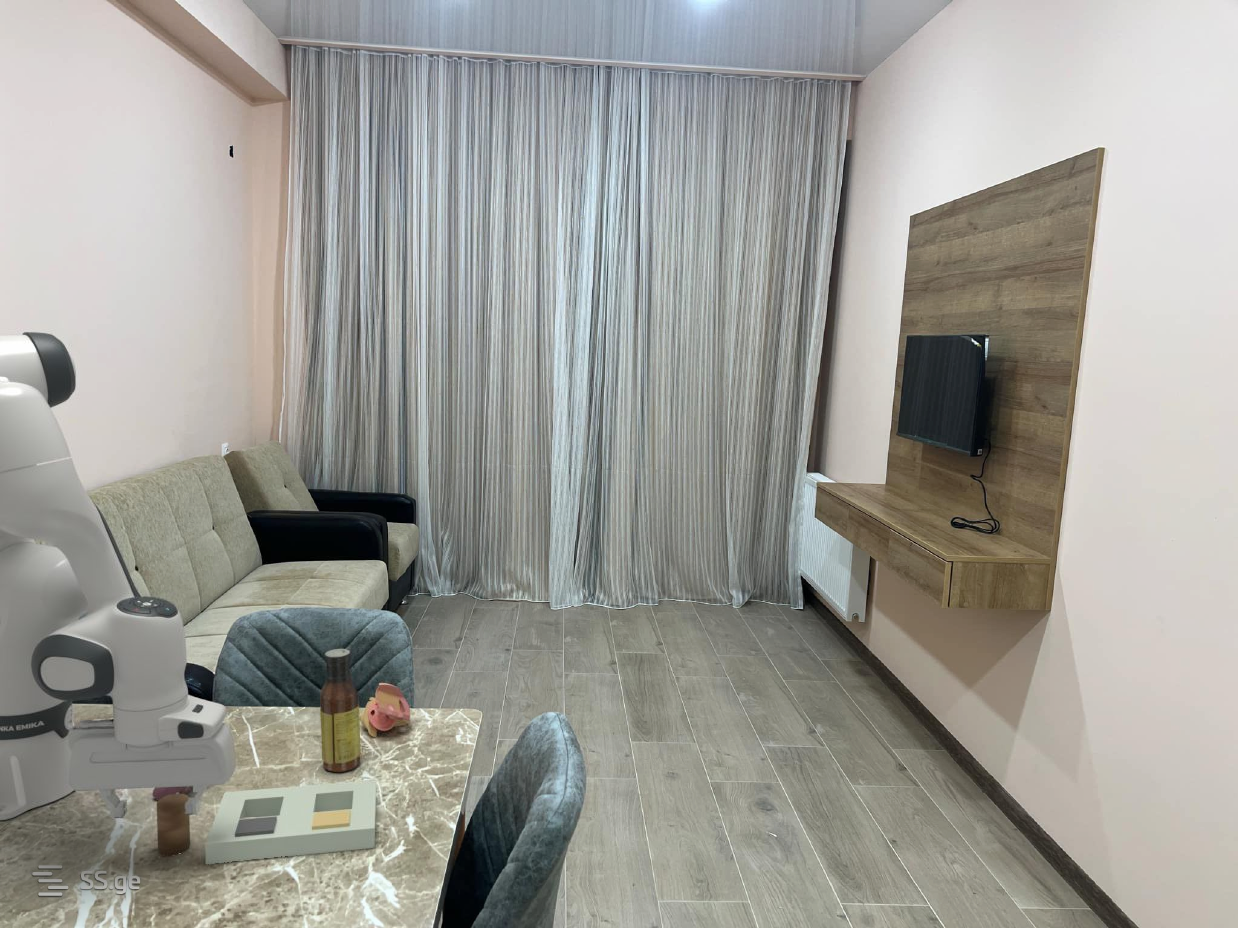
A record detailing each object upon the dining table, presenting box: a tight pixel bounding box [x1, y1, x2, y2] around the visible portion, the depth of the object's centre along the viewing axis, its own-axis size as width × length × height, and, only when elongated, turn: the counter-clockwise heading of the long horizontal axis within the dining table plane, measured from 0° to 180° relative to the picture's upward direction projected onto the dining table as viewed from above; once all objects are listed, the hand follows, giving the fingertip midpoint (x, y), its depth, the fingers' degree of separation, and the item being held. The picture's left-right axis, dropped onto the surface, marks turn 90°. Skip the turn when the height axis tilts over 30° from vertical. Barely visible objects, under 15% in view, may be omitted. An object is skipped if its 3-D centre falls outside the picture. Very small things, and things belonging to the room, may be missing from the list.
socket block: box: [204, 779, 377, 866], centre depth 126 cm, size 22×14×4 cm, turn 105°
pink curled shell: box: [359, 682, 411, 738], centre depth 160 cm, size 9×10×10 cm
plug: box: [156, 793, 191, 857], centre depth 120 cm, size 4×4×7 cm
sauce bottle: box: [319, 648, 362, 773], centre depth 145 cm, size 6×6×20 cm
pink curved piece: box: [152, 786, 193, 801], centre depth 136 cm, size 10×5×7 cm, turn 169°
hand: (156, 814), depth 117 cm, fingers open, 8 cm apart
